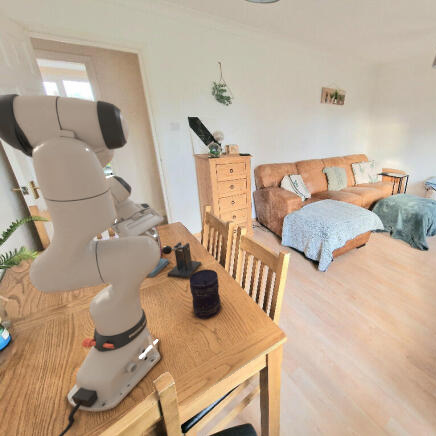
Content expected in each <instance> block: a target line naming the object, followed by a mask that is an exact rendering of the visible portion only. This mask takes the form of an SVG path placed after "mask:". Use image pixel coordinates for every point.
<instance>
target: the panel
mask: <svg viewBox="0 0 436 436" xmlns="http://www.w3.org/2000/svg"><path fill="white" fill-rule="evenodd" d="M169 260H170V259H169V258H162V257H161V258H160V260H159V263H158V265H157V266H156V268H155V269H154V270H153V271H151V272H150V273H149V274H148V275H147V276H146V277H147V278H154V277H156V275H157V274H158V273H160V272H161V271H162V270H164V268H165V267H167V266H168V265H169V263H170V261H169Z"/></svg>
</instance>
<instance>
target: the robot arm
mask: <svg viewBox="0 0 436 436" xmlns="http://www.w3.org/2000/svg"><path fill="white" fill-rule="evenodd" d="M129 136H130V127H129V124H128V121H127V119H126V117H125V115H124V114H123V112H122V111H121V109H120V108H119V107H118V106H116V105H115V104H114V103H111V102H108V101H104V100H97V101H95V100H89V99H82V98H78V97H72V96H71V97H70V96H68V97H65V96H60V95H48V94H45V95H44V94H32V95H31V94H29V95H20V94H17V93H11V94H10V93H9V94H1V95H0V140H2V141H3V142H4V143H5V144H7V145H9V146H10V147H11V148H13V149H15V150H18V151H21V153H23V154H24V155H25V156H27V157H29V158H31V159H32V164H33V168H34V174H35V178H36V182H37V185H38V187H39V190H40V193H41V196H42V198H43V200H44V204H45V205H46V208H47V211H48V213H49V214H48V215H49V217H50V220H51V224H52V228H53V235H52V237H51V238H52V239H51V241H50V243H49V245H48V246H47V247H46V248H45V249H44V250H43V251H42V252H41V253H39V254H38V255H36V257H35V258H34V259H33V261H32V262H31V264H30V267H29V270H28V271H29V272H28V275H29V280H30V282H31V284H32V286H33V287H34V288H35V289H37V290H38V291H39V292H41V293H44V294H47V295H48V294H61V293H71V292H76V291H81V290H85V289H90V288H93V287H97V286H102V285H107V284H108V285H107V286H106V287H104V288H103V289H101V290H100V291H99V292H98V293H97V294H96V295H94V297H93V298H92V300H91V301H90V303H89V307H88V312H89V315H90V317H91V320H92V324H93V326H94V329H93V330H94V331H93V338H89V337H86V338H85V339H83V340H82V343H81V346H82V347H84V348H90V350H89V351H88V353H87V355H86V356H85V358H84V360H83V361H82V363H81V365H80V367H79V369H78V371H76V375H75V384H74V385H73V387H72V388H71V389H70V391H68V394H67V401H68V403H69V404H70V406H72V407H73V408H72V409H71V411H70V412H69V415H68V418H67V420H68V424H67V426H66V427H65V428H64V430H63V431H62V432H61V433H59V435H58V436H64V435H65V434H66V433H67V432H68V431H70V429H71V428H72V426H73V425H74V423H75V420H76V419H75V414H76V412H77V411H78V410H81V411H86V412H104V411H108V410H112V409H113V408H115V407H117V406H118V405H119V404H120V403H121V402H122V401H123V400H124V399H125V397H126V396H127V395H128V394H129V393H130V392H131V391H132V390H133V389H134V388H135V387H136V386H137V385H138V383H139V382H141V381H142V379H143V378H144V377H145V376H146V375H147V374H148V373H149V372H150V371H151V370H152V368H154V366H155V365H156V364H157V363H158V362H159V361H160V360H161V354H160V352H159V350H158V349H159V348H158V345H159V344H158V341H159V339H156V338H155V337H154V336H153V334H152V333H151V331H150V329H149V326H148V320H147V319H148V318H147V316H146V311H145V310H144V308H143V307H142V302H141V296H140V295H141V294H140V291H141V287H142V284H143V282H144V281H145V279H146V278H147V277H148V276H147V275H148V274H149V273H150V272H151V271H153V270H154V269H155V268H156V266H157V265H158V263H159V260H160V248H159V246H158V244H157V243H156V241H155V240H156V239H158V238H159V237H160V236H161V235H160V234H159V235H158V234H157V231H156V229H155V227H156V226H158V227H159V226H160V225H161V224H162V223H163V222H164V221H165V217H164V216H163V215H162V214H161V213H160V212H158V210H156V209H155V208H153V207H152V205H151V204H150V203H148V202H144V203H143V202H142V203H137V202H136V203H135V202H134V201H133V200H131V199H130V197H131V196H132V195H131V194H132V187H131V185H130V184H129V183H128V182H127V181H126V180H125V179H124V178H122V177H121V176H117V175H109V176H107V175H106V173H105V170H104V168H106V167H107V166H108V165H109V164H110V163H111V162H112V160H113V159H114V157H115V150H117V149H121V148H123V147H124V146H125V145H127V143H128V139H129ZM109 229H111V230H112V231H113V232H115V234H116V235H117V237H114V238H108V239H102V240H94V238H95V237H98V236H99V235H101V234H103V233H104V232H106V231H107V230H109ZM148 231H149V232H150V233H152V234H153V235H151V234H149V232H148ZM160 238H161V237H160Z"/></svg>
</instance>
